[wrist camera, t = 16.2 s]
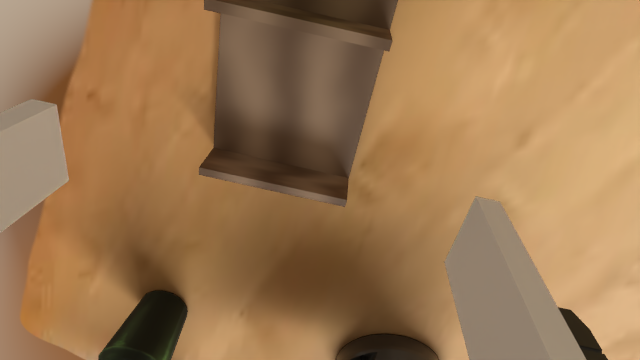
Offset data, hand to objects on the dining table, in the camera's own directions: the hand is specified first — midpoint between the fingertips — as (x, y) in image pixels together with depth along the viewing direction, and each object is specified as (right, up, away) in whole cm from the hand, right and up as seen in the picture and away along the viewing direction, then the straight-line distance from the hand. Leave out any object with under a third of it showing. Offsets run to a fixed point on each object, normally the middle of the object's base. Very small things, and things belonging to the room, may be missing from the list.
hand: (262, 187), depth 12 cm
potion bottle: (-20, -17, +43) cm, 50 cm away
